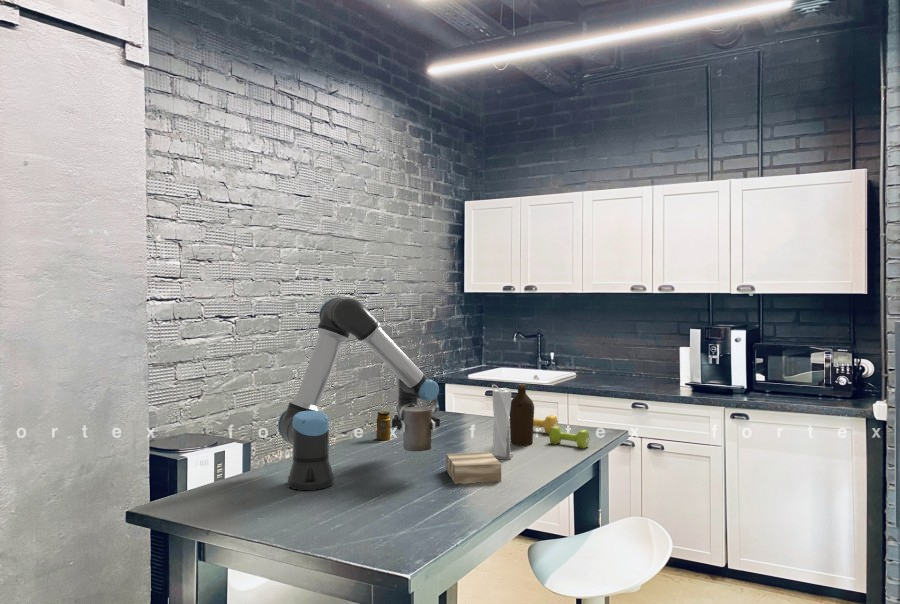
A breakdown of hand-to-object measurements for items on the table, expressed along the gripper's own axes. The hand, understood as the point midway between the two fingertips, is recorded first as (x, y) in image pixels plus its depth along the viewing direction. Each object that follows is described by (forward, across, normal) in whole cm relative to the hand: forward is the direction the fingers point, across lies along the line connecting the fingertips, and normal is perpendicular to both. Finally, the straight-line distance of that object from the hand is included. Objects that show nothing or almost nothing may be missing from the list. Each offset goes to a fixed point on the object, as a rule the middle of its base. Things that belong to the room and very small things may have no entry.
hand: (419, 427), depth 214 cm
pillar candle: (-4, 0, -8) cm, 9 cm away
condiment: (-64, +7, -19) cm, 67 cm away
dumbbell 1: (-69, -64, -18) cm, 96 cm away
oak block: (-4, -20, -18) cm, 27 cm away
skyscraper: (-28, -37, -18) cm, 50 cm away
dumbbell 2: (-41, -70, -18) cm, 83 cm away
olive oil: (-48, -51, -18) cm, 72 cm away
